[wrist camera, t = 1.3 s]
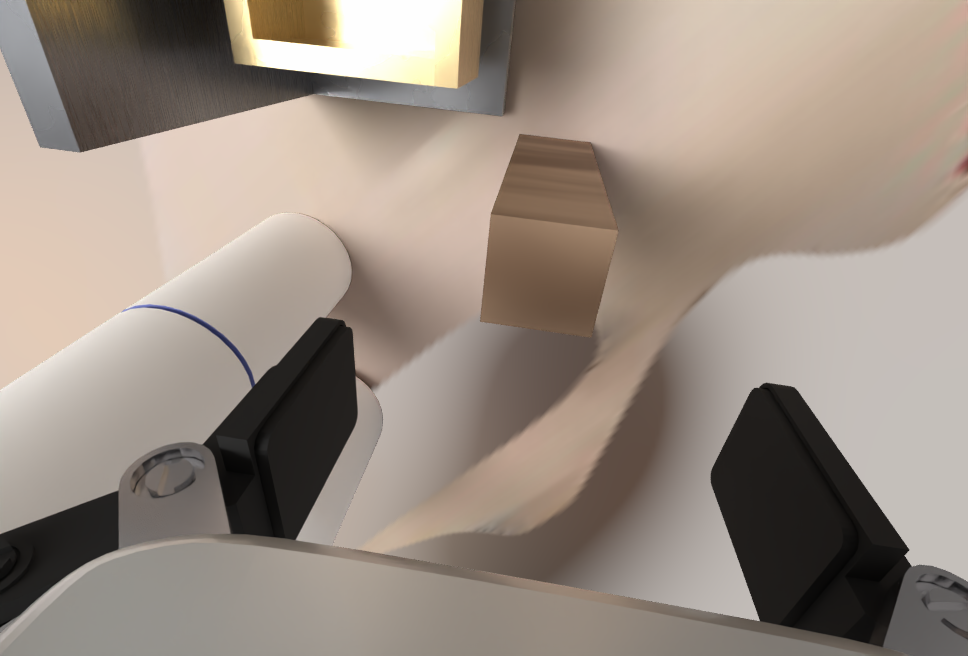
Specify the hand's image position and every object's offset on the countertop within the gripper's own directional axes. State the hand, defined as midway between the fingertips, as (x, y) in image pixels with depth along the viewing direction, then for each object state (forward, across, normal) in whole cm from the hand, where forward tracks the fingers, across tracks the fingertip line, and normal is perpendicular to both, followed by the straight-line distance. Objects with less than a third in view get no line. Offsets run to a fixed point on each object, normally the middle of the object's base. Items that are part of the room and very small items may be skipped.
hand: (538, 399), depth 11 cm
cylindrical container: (+20, +16, +7) cm, 27 cm away
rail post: (+20, 0, -1) cm, 20 cm away
